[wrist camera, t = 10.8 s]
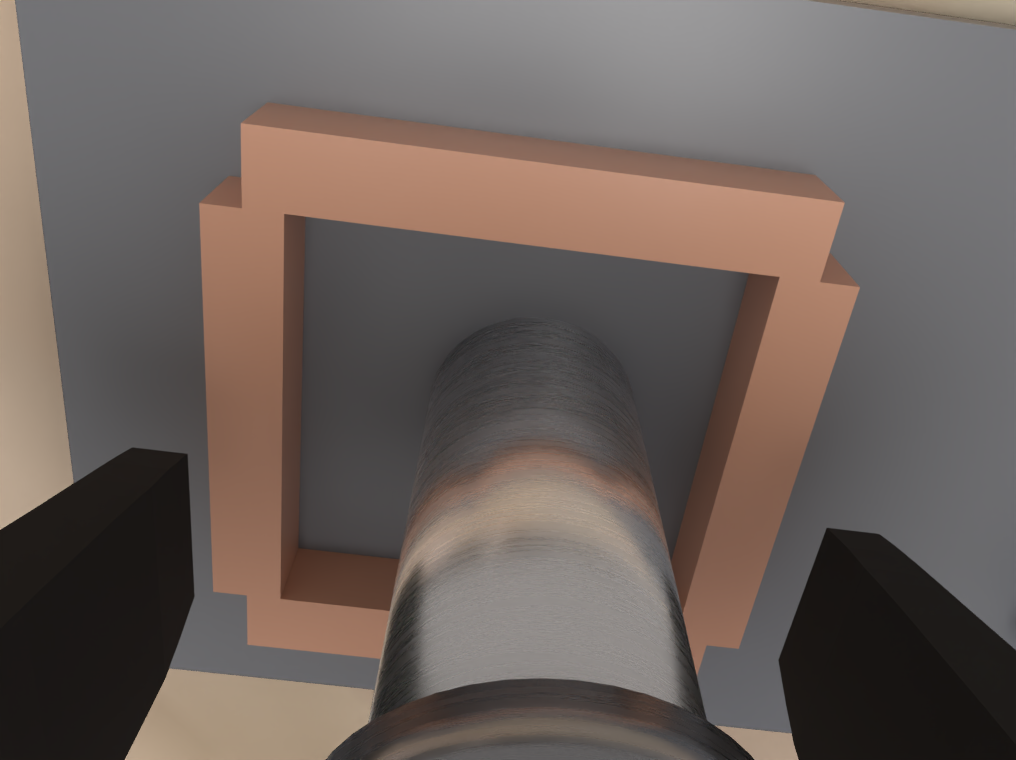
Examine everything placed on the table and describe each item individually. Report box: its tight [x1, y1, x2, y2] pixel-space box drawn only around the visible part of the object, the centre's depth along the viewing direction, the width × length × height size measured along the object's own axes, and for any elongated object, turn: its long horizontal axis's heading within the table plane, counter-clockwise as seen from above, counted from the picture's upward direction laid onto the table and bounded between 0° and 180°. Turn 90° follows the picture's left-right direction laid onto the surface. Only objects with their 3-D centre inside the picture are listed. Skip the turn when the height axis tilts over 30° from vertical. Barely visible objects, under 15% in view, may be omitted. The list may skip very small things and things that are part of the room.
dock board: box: [15, 0, 1016, 733], centre depth 13 cm, size 12×26×2 cm, turn 83°
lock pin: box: [326, 318, 754, 760], centre depth 10 cm, size 4×4×8 cm
